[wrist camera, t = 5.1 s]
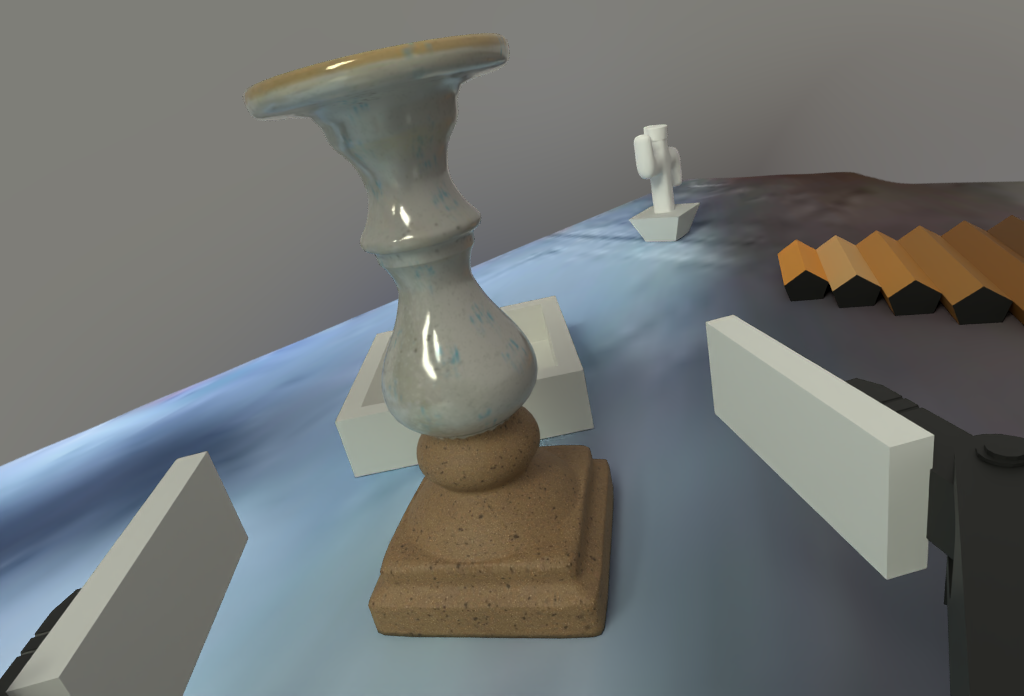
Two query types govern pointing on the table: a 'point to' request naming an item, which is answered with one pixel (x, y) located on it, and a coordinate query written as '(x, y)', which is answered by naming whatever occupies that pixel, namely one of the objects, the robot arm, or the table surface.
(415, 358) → the candle holder
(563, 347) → the rimmed tray
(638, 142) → the figurine
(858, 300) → the pan flute
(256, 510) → the table surface
